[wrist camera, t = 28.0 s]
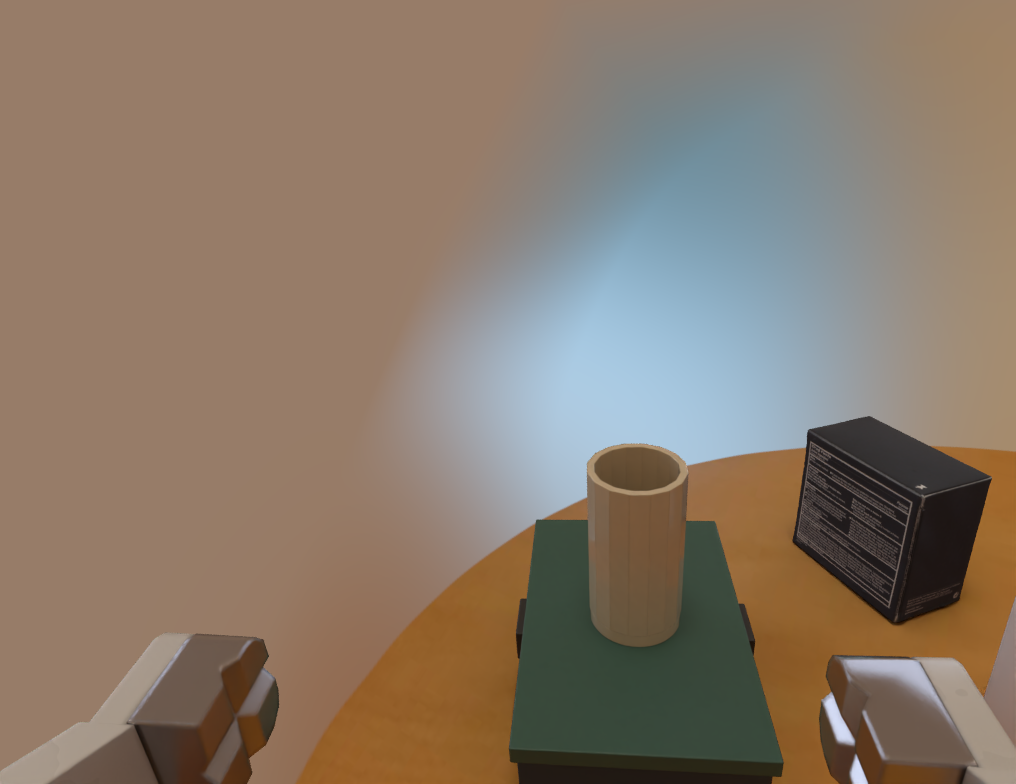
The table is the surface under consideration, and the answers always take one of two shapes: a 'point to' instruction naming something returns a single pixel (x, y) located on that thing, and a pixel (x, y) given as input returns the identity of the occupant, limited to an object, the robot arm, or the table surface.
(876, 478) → the small box
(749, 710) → the box
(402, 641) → the table surface
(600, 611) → the cup
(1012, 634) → the bracket
